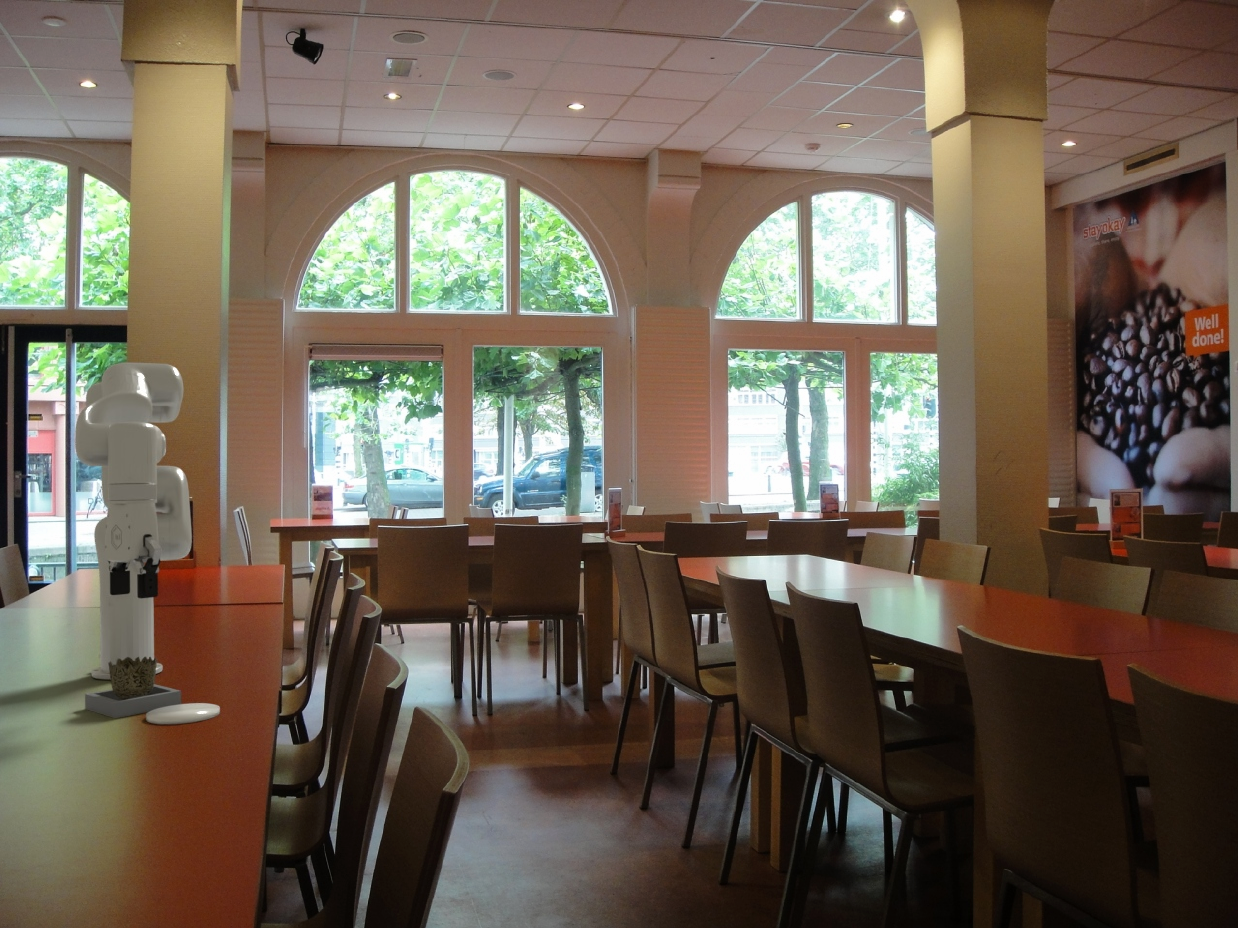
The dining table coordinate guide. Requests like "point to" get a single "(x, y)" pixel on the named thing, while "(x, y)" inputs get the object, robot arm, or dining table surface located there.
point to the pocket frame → (131, 702)
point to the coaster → (183, 713)
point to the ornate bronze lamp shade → (132, 677)
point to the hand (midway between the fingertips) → (133, 595)
